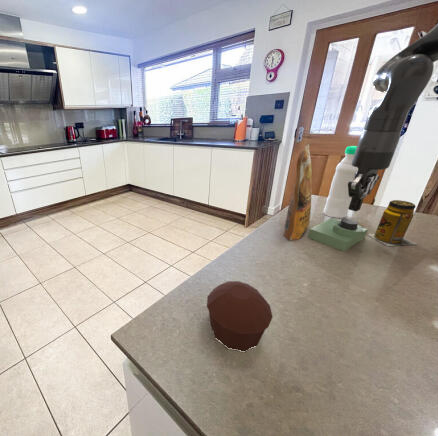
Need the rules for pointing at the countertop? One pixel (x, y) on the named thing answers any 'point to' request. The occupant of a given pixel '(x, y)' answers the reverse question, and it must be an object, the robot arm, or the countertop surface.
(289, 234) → the pancake mix bag
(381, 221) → the condiment
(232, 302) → the muffin
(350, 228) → the pump top
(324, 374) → the countertop surface
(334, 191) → the water bottle
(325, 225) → the dispenser base
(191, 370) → the countertop surface
